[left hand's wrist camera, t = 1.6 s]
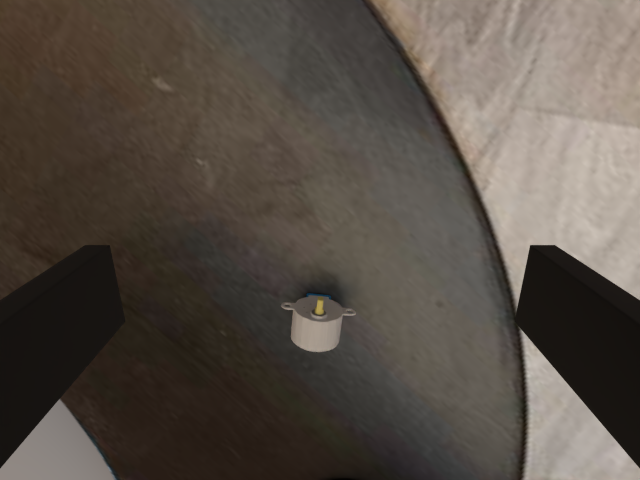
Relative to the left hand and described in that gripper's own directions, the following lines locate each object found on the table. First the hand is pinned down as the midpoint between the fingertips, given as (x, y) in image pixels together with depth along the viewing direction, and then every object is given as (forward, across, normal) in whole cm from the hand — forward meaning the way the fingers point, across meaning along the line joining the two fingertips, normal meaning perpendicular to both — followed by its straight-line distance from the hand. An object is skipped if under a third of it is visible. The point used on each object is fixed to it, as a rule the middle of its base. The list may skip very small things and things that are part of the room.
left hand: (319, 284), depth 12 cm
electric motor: (+23, 0, -14) cm, 27 cm away
